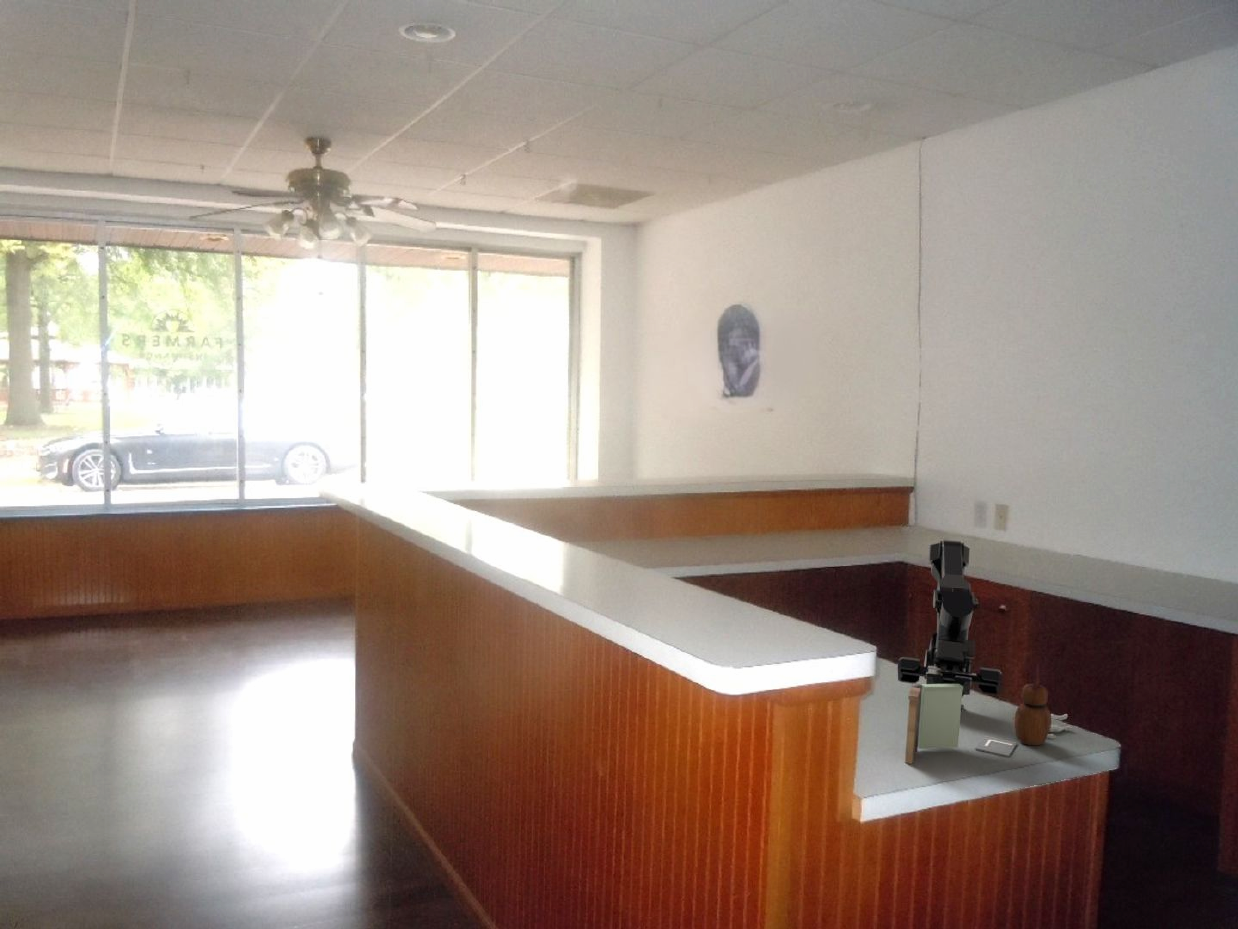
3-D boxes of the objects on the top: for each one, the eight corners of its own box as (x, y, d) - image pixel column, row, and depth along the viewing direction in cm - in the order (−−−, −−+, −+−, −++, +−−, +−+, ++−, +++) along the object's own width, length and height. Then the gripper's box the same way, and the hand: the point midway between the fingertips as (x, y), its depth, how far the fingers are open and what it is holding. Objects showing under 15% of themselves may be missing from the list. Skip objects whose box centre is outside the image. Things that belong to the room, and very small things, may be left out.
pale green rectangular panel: (920, 749, 185) (925, 687, 183) (916, 745, 186) (921, 684, 185) (958, 748, 186) (963, 686, 185) (954, 744, 187) (958, 683, 186)
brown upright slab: (906, 748, 186) (911, 682, 185) (917, 750, 186) (922, 684, 185) (902, 762, 180) (907, 694, 178) (914, 764, 179) (919, 696, 178)
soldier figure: (1079, 742, 197) (1039, 730, 191) (1059, 752, 200) (1019, 741, 194) (1064, 706, 202) (1025, 694, 196) (1045, 716, 205) (1006, 704, 199)
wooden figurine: (1025, 734, 197) (1031, 659, 195) (1053, 743, 192) (1060, 667, 191) (1007, 741, 192) (1013, 665, 191) (1036, 751, 188) (1043, 673, 187)
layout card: (983, 737, 194) (984, 735, 194) (1016, 744, 191) (1016, 742, 191) (975, 749, 187) (975, 747, 187) (1008, 757, 184) (1009, 755, 184)
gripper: (901, 616, 193) (892, 690, 184) (1005, 628, 186) (1001, 705, 177) (902, 644, 201) (893, 716, 192) (1002, 657, 195) (997, 732, 186)
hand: (945, 717), depth 187 cm, fingers closed
